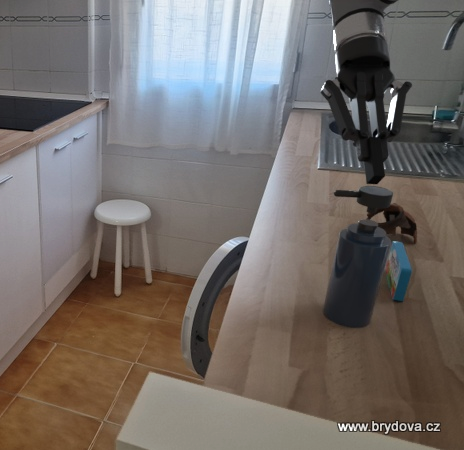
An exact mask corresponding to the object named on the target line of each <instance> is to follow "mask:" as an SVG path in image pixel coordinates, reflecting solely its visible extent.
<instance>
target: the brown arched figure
mask: <svg viewBox="0 0 464 450" xmlns="http://www.w3.org/2000/svg"><path fill="white" fill-rule="evenodd" d="M381 213H382V215H383V217H384V219H385V221H384V222H377V223H378V227H380V228H382V229H383V230H385V231H386V235H392V236H394V237H395V236H397V228H398V227H399V228H400V235H408V236H410V237H412V238H413V244H414V245H416V244H417V243H418V229H417V223H416V220H415V218H414V217H413V215H412V214H411V213H410V212H409V211H407V210H405V209H404V208H403V207H402V206H401V205H400V204H398V203H397V202H393V203H391V205H390V207H388V208H383V209H378V208H377V209H376V213H368V212H367V213H366V216H367V218H366V219H367V220H372V218H373V217H375V216H376V215H378V214H381Z"/></svg>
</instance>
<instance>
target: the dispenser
mask: <svg viewBox="0 0 464 450" xmlns="http://www.w3.org/2000/svg"><path fill="white" fill-rule="evenodd" d="M378 223H379V222H377V221H375V220H372V219H370V220H367V218H362V219H359V220H358V222H354V223H351V224H348V225H347V227H346V228H343V229H342V230H340V231H339V233H338V237H337V243H336V246H335V247H336V248H335V252H334V257H333V261H332V265H331V270H330V274H329V279H328V284H327V288H326V289H327V290H326V293H325V296H324V297H325V298H324V303H323V307H322V313H323V316H325V318H326V319H328V320H329V321H330V322H332V323H334V324H336V325H339V326H341V327H346V328H352V329H360V328H365V327H367V326H369V325H370V324H371V322H372V318H373V315H374V310H375V307H376V302H377V299H378V296H379V291H380V288H381V284H382V280H383V276H384V273H385V269H386V265H387V261H388V257H389V253H390V250H391V246H392V240H391V239H390V237H389V236H387V234H386V231H385V230H383V229H382V228H380V227H378Z"/></svg>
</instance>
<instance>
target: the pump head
mask: <svg viewBox="0 0 464 450" xmlns="http://www.w3.org/2000/svg"><path fill="white" fill-rule="evenodd" d="M333 196H334V197H337V198H356V203H357V204H358V205H360V206H363V207H366V212H367V213H376V209H377V208H378V209H383V208H388V207H390V205H391V204H392V201H393V196H394V192H393V191H392V190H391V189H388V188H386V187H382V186H376V185H363V186H360V187H359V188H358V190H349V189H348V190H347V189H336V190H334V191H333Z"/></svg>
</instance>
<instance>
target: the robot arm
mask: <svg viewBox="0 0 464 450" xmlns="http://www.w3.org/2000/svg"><path fill="white" fill-rule="evenodd" d="M398 1H399V0H328V4H329V8H330V14H331V20H332V34H333V46H334V47H333V48H334V54H335V56H334V57H335V58H334V59H335V69H336V70H335V71H336V76H335V78H334V79H333V80H332V79H327V80H325V82H324V84H323V85H322V88H321V89H320V94H321V95H322V97H323V98H324V99H325V100H326V101H327V103H328V105H329V108H330V110H331V113H332V116H333V119H334V120H335V121H334V122H335V123H336V126H337V129H338V132H339V134H340V136H341V139H342V140H343V141H345V142H347V141H352V146H353V147H354V148H356V157H357V160H358V162H361V163H362V162H363V164H364V173H365V182H366V185H379V183H380V182H381V181H382V180H383V179H384V178H385V177H386V172H385V164H384V163H385V162H386V161H387V159H388V158H389V154H390V153H389V146H388V143H392V142H393V141H394V140H395V139H396V137H397V136H398V135H399V134H400V133H401V128H402V123H403V116H404V111H405V106H406V98H407V94H408V92H409V91H410V90H411V88H412V87H413V83H412V82H411V81H407V80H406V81H404V83H403V82H401V81H399V80H396V79H395V78H396V76H395V73H393V72H392V71H391V58H390V50H389V44H388V36H387V30H386V23H385V14H384V13H385V12H384V11H385V10H386V9H387V8H389V7H390V6H392V5H394V4H395V3H397V2H398ZM388 89H390V97H391V98H392V99H391V101H390V104H389V105H390V106H389V109H388V115H387V117H386V110H385V102H384V98H385V93H386V92H387V91H388ZM344 95H345V96H346V97H347V98H348V102H349V103H348V104H349V105H347V102H346V100H345V97H344ZM348 106H349V108H350V109H349V108H348ZM367 109H368V110H367ZM350 110H351V113H350ZM368 116H369V119H368ZM369 124H370V127H369ZM369 128H370V129H369ZM370 134H371V136H370Z"/></svg>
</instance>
